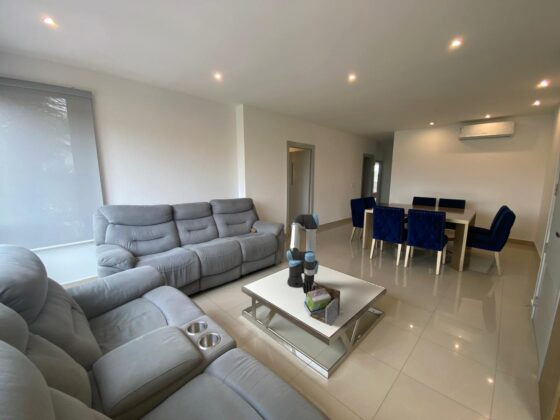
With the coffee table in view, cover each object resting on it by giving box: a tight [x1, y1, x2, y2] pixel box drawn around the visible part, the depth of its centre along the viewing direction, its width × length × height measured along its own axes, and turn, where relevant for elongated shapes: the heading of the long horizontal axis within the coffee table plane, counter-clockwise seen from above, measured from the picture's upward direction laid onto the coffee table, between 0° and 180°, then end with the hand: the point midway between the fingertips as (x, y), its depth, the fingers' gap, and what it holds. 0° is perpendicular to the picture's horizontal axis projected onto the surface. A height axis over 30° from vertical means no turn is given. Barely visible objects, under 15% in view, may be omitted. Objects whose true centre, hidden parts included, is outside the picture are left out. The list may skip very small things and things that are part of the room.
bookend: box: [324, 296, 342, 326], centre depth 162 cm, size 4×18×12 cm, turn 141°
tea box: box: [303, 288, 331, 316], centre depth 168 cm, size 15×10×15 cm
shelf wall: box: [311, 281, 341, 324], centre depth 170 cm, size 26×19×16 cm
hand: (308, 302), depth 175 cm, fingers closed
